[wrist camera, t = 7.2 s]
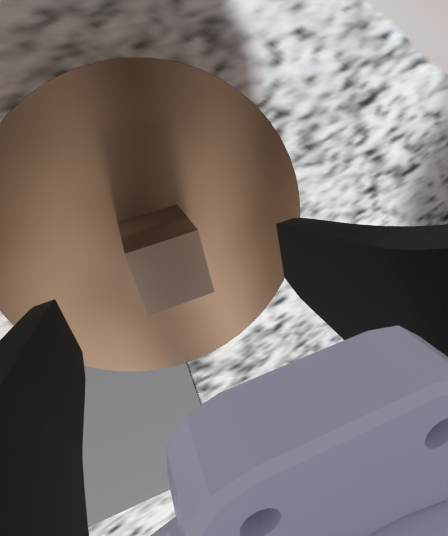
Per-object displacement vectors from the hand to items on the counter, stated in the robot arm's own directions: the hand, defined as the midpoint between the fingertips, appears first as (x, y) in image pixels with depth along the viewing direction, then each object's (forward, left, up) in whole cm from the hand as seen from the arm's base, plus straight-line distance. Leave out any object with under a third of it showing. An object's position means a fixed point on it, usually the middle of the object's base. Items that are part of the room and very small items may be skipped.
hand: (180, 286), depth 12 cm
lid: (0, 0, -6) cm, 6 cm away
